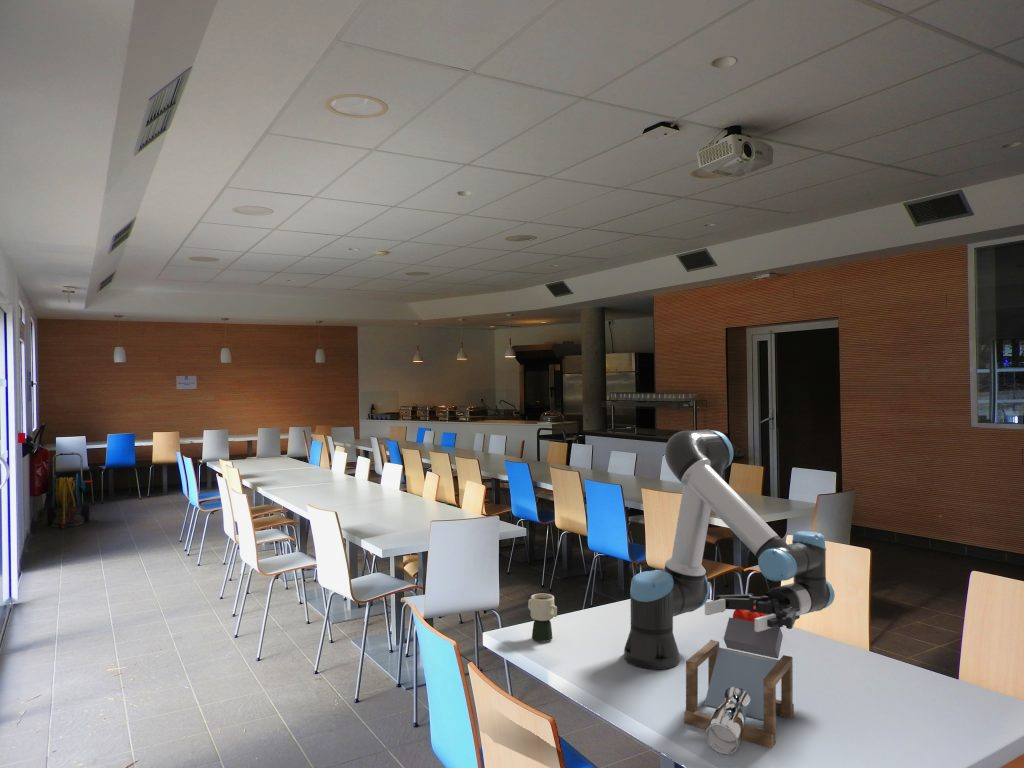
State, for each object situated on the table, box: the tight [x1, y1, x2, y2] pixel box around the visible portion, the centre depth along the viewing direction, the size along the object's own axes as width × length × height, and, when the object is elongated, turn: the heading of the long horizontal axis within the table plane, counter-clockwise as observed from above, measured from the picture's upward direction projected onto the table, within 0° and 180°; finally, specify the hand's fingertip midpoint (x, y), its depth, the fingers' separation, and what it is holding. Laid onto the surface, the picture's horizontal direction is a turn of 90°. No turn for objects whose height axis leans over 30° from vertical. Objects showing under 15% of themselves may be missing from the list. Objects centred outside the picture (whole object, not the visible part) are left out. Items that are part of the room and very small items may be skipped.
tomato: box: [732, 605, 768, 622], centre depth 213 cm, size 11×11×9 cm
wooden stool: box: [683, 639, 795, 749], centre depth 157 cm, size 19×19×14 cm
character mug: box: [527, 593, 558, 642], centre depth 207 cm, size 11×7×13 cm, turn 48°
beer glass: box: [705, 687, 752, 756], centre depth 147 cm, size 7×7×15 cm
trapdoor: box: [704, 617, 784, 723], centre depth 161 cm, size 14×22×4 cm
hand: (730, 617), depth 155 cm, fingers open, 13 cm apart
